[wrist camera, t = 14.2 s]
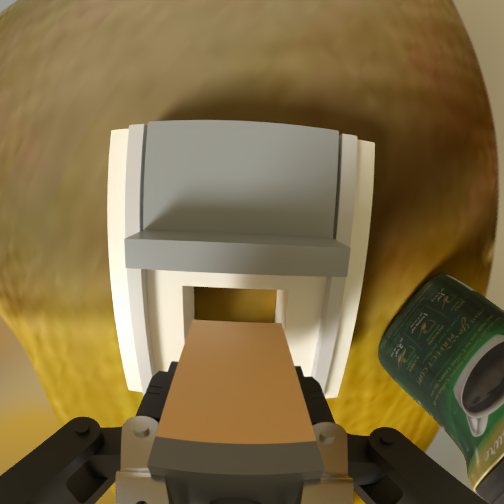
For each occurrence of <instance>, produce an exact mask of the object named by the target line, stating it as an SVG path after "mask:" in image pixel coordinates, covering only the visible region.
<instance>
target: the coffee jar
mask: <svg viewBox="0 0 504 504" xmlns="http://www.w3.org/2000/svg"><path fill="white" fill-rule="evenodd" d="M378 356H379V361H380V363H381V365H382V366H383V367H384V369H385V370H386V371H387V372H388V373H389V375H390V376H391V377H392V378H393V379H394V380H395V381H396V382H397V383H398V384H399V385H400V386H401V387H402V388H403V389H404V390H405V391H406V392H407V393H408V394H409V395H410V396H411V397H412V398H413V399H414V400H415V401H416V402H417V403H418V404H420V405H421V406H422V407H423V408H424V409H425V410H426V411H427V412H428V413H429V414H430V415H431V416H432V417H433V418H434V419H435V420H436V421H437V422H438V424H439V425H440V426H441V427H442V428H443V429H444V430H445V431H446V432H447V433H448V435H449V436H450V437H451V438H452V440H453V441H454V442H455V443H456V445H457V446H458V447H459V449H460V450H461V452H462V453H463V455H464V457H465V460H466V464H467V474H468V479H469V482H470V484H471V486H472V488H473V490H474V491H476V492H477V493H478V494H479V495H480V496H481V497H482V498H483V499H484V500H485V501H486V502H487V503H489V504H504V311H503V310H502V309H500V308H499V307H497V306H496V305H495V304H493V303H492V302H490V301H489V300H488V299H486V298H485V297H484V296H482V295H481V294H479V293H478V292H477V291H475V290H474V289H472V288H471V287H469V286H468V285H466V284H464V283H463V282H461V281H459V280H458V279H456V278H454V277H452V276H449V275H445V274H442V275H438V276H435V277H433V278H431V279H430V280H429V281H427V282H426V283H425V284H424V285H423V286H422V287H421V288H420V289H419V291H418V292H416V294H415V295H414V296H413V297H412V298H411V299H410V300H409V302H408V303H407V304H406V305H405V307H404V308H403V309H402V310H401V312H400V313H399V314H398V315H397V317H396V318H395V319H394V321H393V322H392V323H391V325H390V326H389V327H388V329H387V330H386V332H385V333H384V335H383V337H382V339H381V341H380V344H379V351H378Z"/></svg>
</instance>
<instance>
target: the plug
mask: <svg viewBox="0 0 504 504" xmlns="http://www.w3.org/2000/svg"><path fill="white" fill-rule="evenodd" d="M147 467H148V469H149V472H150V474H152V475H160V476H165V479H166V482H167V485H168V487H169V490H170V493H171V496H172V498H173V501H174V504H295V501H296V499H297V497H298V494H299V492H300V490H301V487H302V485H303V482H304V480H310V479H321V477H322V475H323V473H324V471H325V468H324V464H323V461H322V458H321V454H320V451H319V447H318V444H317V440H316V437H315V434H314V430H313V427H312V423H311V420H310V417H309V413H308V410H307V406H306V403H305V400H304V396H303V393H302V390H301V386H300V383H299V380H298V376H297V373H296V370H295V366H294V363H293V360H292V356H291V353H290V350H289V346H288V343H287V340H286V336H285V333H284V330H283V326H282V323H255V322H228V321H209V320H192V323H191V326H190V329H189V332H188V335H187V338H186V341H185V344H184V347H183V350H182V353H181V356H180V359H179V362H178V365H177V368H176V371H175V374H174V377H173V380H172V384H171V387H170V390H169V393H168V396H167V399H166V403H165V406H164V409H163V412H162V416H161V419H160V422H159V426H158V429H157V432H156V436H155V439H154V442H153V446H152V449H151V453H150V456H149V460H148V463H147Z"/></svg>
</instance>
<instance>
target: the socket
mask: <svg viewBox="0 0 504 504" xmlns="http://www.w3.org/2000/svg"><path fill="white" fill-rule="evenodd" d="M147 128H148V126H146V125H145V124H138V125H129V129H120V130H111V140H110V152H109V169H108V248H109V265H110V277H111V288H112V298H113V306H114V314H115V321H116V328H117V334H118V341H119V346H120V352H121V357H122V362H123V367H124V372H125V377H126V381H127V386H128V390H132V391H138V392H143V395H144V394H145V393H146V390H147V387H148V385H149V383H150V380H151V378H152V377H153V376H154V375H155V374H156V373H157V372H159V371H165V372H168V369H169V366H170V364H171V362H172V361H177V362H179V359H180V356H181V353H182V350H183V347H184V344H185V341H186V338H187V335H188V332H189V329H190V326H191V323H192V320H195V319H194V286H198V287H218V288H242V289H271V290H277V300H276V311H275V322H274V323H282V326H283V330H284V333H285V336H286V340H287V343H288V346H289V350H290V353H291V356H292V360H293V363H294V366H301V369H302V372H303V375H304V377H311V376H312V377H313V378H314V379H315V380H317V381H318V382H319V383H320V386H321V388H322V391H323V393H324V396H325V398H335V397H337V396H338V392H339V389H340V385H341V381H342V377H343V374H344V370H345V366H346V362H347V358H348V354H349V349H350V345H351V341H352V336H353V331H354V327H355V322H356V317H357V312H358V306H359V301H360V295H361V289H362V283H363V277H364V270H365V263H366V256H367V248H368V240H369V231H370V221H371V210H372V197H373V182H374V159H375V143H374V142H369V141H363V140H358V139H357V136H355V135H349V134H343V133H342V134H340V135H339V145H338V170H337V188H336V203H335V216H334V227H333V239H335V240H337V241H339V242H340V243H342V244H344V245H346V246H347V247H349V248H351V250H350V258H349V266H348V273H347V277H317V276H282V275H253V274H228V273H206V272H186V271H167V270H149V269H133V268H126V266H125V244H124V239H125V238H127V237H129V236H131V235H134V234H136V233H138V232H140V231H142V230H143V198H144V170H145V153H146V140H147Z"/></svg>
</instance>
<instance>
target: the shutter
mask: <svg viewBox="0 0 504 504" xmlns="http://www.w3.org/2000/svg"><path fill="white" fill-rule="evenodd" d="M338 145H339V131H337V130H331V129H324V128H317V127H309V126H300V125H291V124H281V123H269V122H254V121H233V120H172V121H151V122H148V128H147V140H146V153H145V170H144V198H143V230H142V231H140V232H138V233H136V234H134V235H131V236H129V237H127V238H125V239H124V244H125V266H126V268H133V269H149V270H167V271H186V272H206V273H228V274H253V275H282V276H317V277H347V273H348V266H349V258H350V250H351V248H349V247H347V246H346V245H344V244H342V243H340V242H339V241H337V240H335V239H333V227H334V216H335V203H336V188H337V170H338Z"/></svg>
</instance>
